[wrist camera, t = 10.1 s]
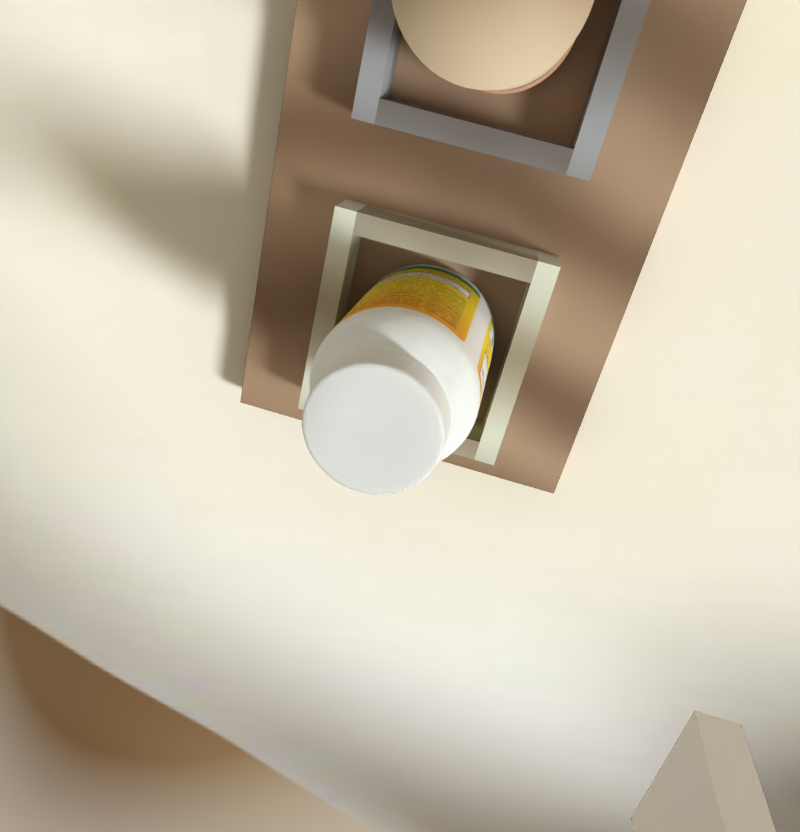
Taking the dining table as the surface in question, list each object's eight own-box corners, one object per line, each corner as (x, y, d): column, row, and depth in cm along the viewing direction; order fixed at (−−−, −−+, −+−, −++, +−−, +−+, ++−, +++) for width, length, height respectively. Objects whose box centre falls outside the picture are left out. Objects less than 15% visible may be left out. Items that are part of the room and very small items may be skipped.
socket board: (553, 479, 31) (554, 516, 28) (250, 391, 32) (224, 419, 29) (788, -129, 21) (825, -161, 18) (342, -234, 22) (315, -279, 19)
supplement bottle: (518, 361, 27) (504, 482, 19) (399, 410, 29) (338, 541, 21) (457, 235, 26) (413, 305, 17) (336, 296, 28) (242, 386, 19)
